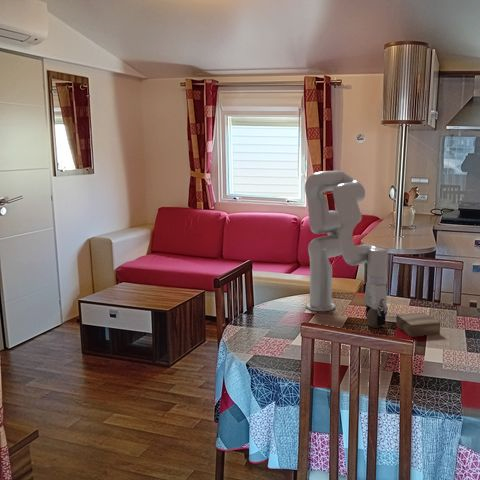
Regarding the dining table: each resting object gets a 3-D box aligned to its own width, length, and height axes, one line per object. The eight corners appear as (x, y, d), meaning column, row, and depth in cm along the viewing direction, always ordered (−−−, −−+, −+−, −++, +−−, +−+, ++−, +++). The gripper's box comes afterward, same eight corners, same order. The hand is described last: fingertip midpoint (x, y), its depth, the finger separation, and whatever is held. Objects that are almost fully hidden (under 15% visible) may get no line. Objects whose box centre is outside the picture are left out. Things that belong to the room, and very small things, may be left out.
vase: (384, 329, 212) (385, 308, 211) (366, 328, 214) (367, 307, 212) (383, 323, 219) (384, 303, 217) (365, 322, 220) (366, 302, 219)
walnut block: (396, 326, 217) (396, 314, 216) (423, 324, 219) (424, 312, 218) (410, 337, 205) (411, 325, 204) (439, 335, 207) (440, 322, 206)
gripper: (358, 274, 220) (356, 314, 223) (378, 286, 203) (376, 329, 207) (375, 273, 222) (373, 313, 225) (396, 284, 205) (394, 327, 209)
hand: (375, 320), depth 216 cm, fingers open, 9 cm apart
